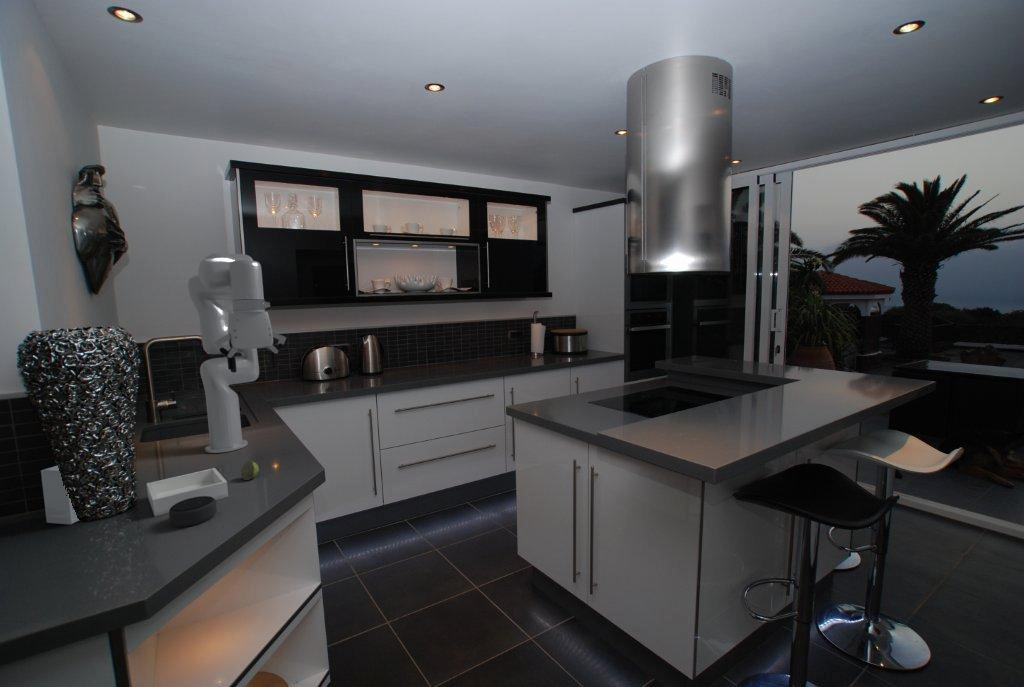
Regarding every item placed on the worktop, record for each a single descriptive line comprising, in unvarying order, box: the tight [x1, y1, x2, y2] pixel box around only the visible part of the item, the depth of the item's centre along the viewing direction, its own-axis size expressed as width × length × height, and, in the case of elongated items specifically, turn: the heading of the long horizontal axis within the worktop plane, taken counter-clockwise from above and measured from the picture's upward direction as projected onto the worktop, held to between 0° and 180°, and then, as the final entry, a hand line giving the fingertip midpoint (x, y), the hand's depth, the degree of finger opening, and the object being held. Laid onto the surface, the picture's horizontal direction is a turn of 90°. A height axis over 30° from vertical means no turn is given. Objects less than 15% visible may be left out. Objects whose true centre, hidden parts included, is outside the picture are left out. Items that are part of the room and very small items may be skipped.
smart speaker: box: [168, 496, 218, 528], centre depth 106 cm, size 9×9×4 cm
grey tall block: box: [40, 465, 80, 525], centre depth 109 cm, size 7×7×13 cm
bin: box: [146, 467, 229, 517], centre depth 118 cm, size 15×15×4 cm
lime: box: [240, 460, 260, 481], centre depth 130 cm, size 4×5×5 cm
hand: (253, 369), depth 125 cm, fingers open, 9 cm apart
